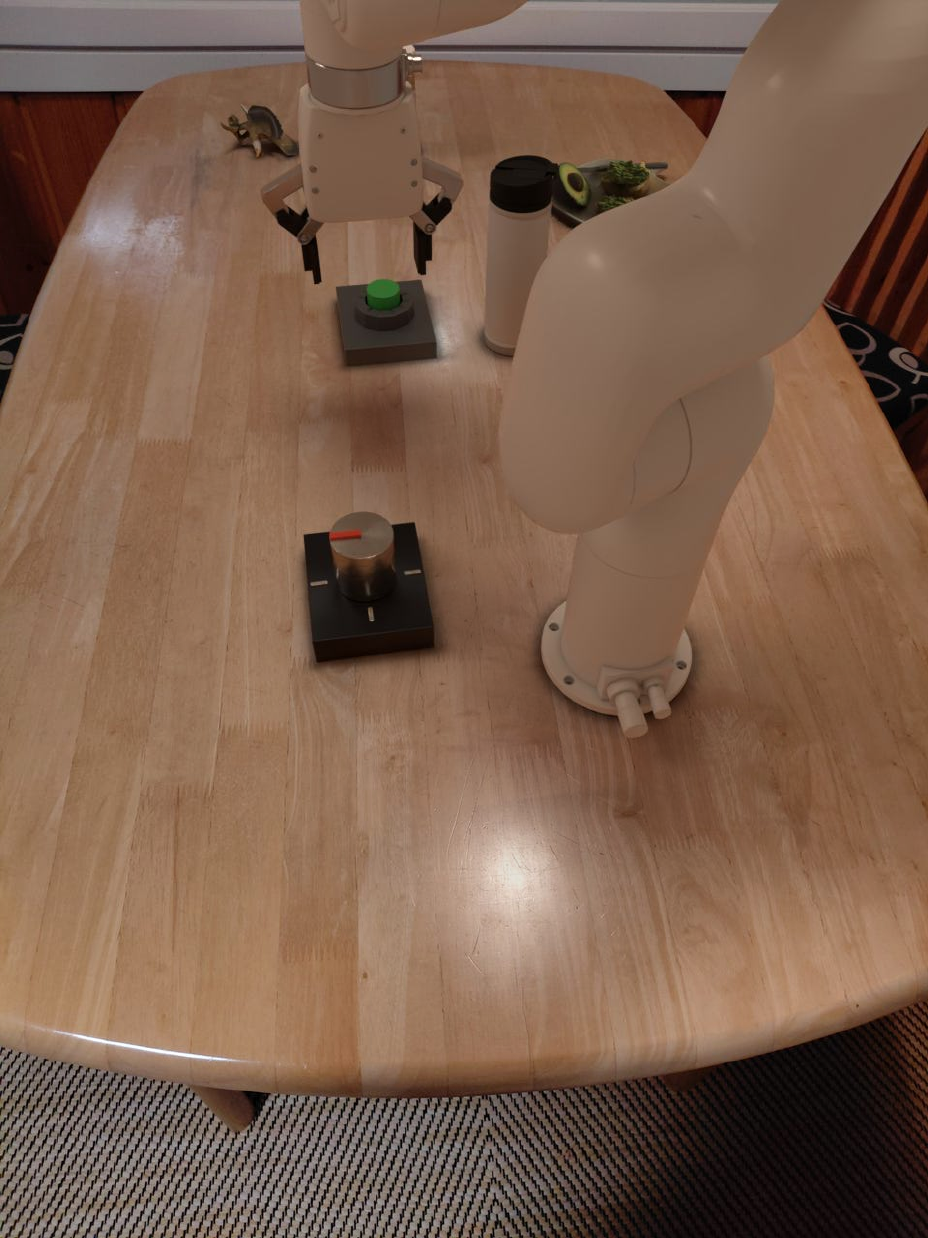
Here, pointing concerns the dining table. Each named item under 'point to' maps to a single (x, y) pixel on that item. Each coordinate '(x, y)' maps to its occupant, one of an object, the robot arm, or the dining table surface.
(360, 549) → the program dial
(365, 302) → the block
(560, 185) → the avocado toast plate
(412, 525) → the dial panel
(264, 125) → the brown horned dinosaur figurine
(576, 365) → the robot arm
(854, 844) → the dining table surface
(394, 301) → the button
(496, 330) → the travel mug
